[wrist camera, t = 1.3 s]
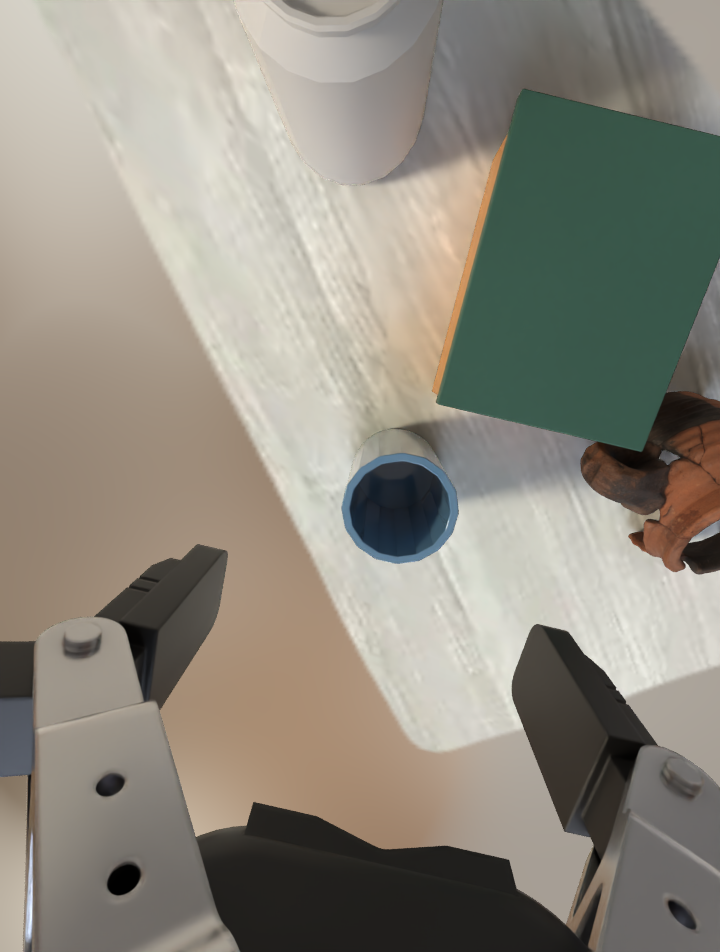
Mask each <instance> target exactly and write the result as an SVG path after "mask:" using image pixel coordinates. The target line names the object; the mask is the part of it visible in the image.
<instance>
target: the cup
mask: <svg viewBox="0 0 720 952" xmlns="http://www.w3.org/2000/svg"><path fill="white" fill-rule="evenodd" d="M341 509H342V514H343V519H344V525H345V528H346V531H347V532H348V534H349V535H350V537H351V538H352V540H353V541H354V542H355V544H356V545H357V546H358V547H359V548H360V549H361V550H363V551H364V552H366V553H367V554H369V555H370V556H372V557H373V558H376V559H378V560H382V561H387V562H391V563H395V564H400V563H407V562H415V561H420V560H422V559H423V558H425V557H427V556H429V555H431V554H433V553H434V552H436V551H438V550H439V549H440V548H441V547H442V545H443V544H444V543H445V542H446V541H447V539H448V538H449V537H450V536H451V535H452V533H453V530H454V527H455V524H456V520H457V517H458V514H459V513H458V512H459V510H458V501H457V493H456V490H455V488H454V486H453V484H452V482H451V481H450V479H449V477H448V475H447V474H446V472H445V470H444V468H443V467H442V465H441V463H440V461H439V460H438V458H437V456H436V454H435V453H434V451H433V449H432V448H431V446H430V445H429V443H428V442H426V441H425V440H424V439H423V438H422V437H420V436H419V435H417V434H415V433H413V432H411V431H408V430H403V429H388V430H383V431H380V432H378V433H376V434H374V435H372V436H371V437H369V438H368V439H367V440H366V441H365V442H364V443H363V444H362V445H361V446H360V448H359V450H358V451H357V453H356V454H355V457H354V460H353V464H352V467H351V471H350V474H349V478H348V482H347V485H346V489H345V493H344V498H343V502H342V508H341Z"/></svg>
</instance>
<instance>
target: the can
mask: <svg viewBox="0 0 720 952" xmlns="http://www.w3.org/2000/svg"><path fill="white" fill-rule="evenodd" d="M233 1H234V4H235V7H236V10H237V13H238V16H239V18H240V21H241V23H242V26H243V28H244V30H245V33H246V35H247V38H248V40H249V42H250V45H251V47H252V50H253V52H254V54H255V57H256V59H257V62H258V64H259V67H260V69H261V71H262V74H263V76H264V79H265V81H266V83H267V86H268V88H269V91H270V93H271V95H272V98H273V100H274V103H275V105H276V107H277V110H278V112H279V115H280V117H281V119H282V122H283V124H284V127H285V129H286V132H287V134H288V136H289V139H290V141H291V144H292V145H293V147H294V148H295V150H296V151H297V153H298V154H299V156H300V157H301V159H302V160H303V162H304V163H305V164H306V165H307V166H308V167H309V168H311V169H312V170H313V171H314V172H316V173H317V174H318V175H319V176H321V177H322V178H324V179H327V180H330V181H333V182H335V183H338V184H341V185H365V184H367V183H370V182H373V181H375V180H378V179H381V178H383V177H385V176H386V175H387V174H389V173H390V172H391V171H392V170H393V169H395V168H396V167H397V166H398V165H400V164H401V163H402V162H403V160H404V159H405V157H406V156H407V154H408V153H409V151H410V150H411V148H412V147H413V145H414V143H415V142H416V139H417V135H418V132H419V129H420V126H421V123H422V120H423V115H424V110H425V104H426V98H427V92H428V86H429V81H430V75H431V69H432V63H433V57H434V52H435V46H436V40H437V34H438V28H439V23H440V17H441V11H442V5H443V0H233Z"/></svg>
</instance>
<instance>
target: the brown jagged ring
mask: <svg viewBox="0 0 720 952" xmlns="http://www.w3.org/2000/svg"><path fill="white" fill-rule="evenodd" d="M662 450H666V451H669V452H671V453H673V454H675V455H678V456H679V457H680V459H678V460H675V461H673V462H671V463H670V464H669V465H667V464H666V463H665V462H664V461H661V460H659V456H660V454H661V451H662ZM581 472H582V475H583V477H584V479H585V480H586V482H587V483H588V484H589V485H590V486H591V488H593V489H594V490H595V491H596V492H598V493H599V494H600V495H602V496H604V497H606V498H608V499H610V500H613V501H615V502H618V503H621V505H622V506H623V507H625V508H627V509H630V510H632V511H634V512H636V513H638V514H641V515H648V514H651V513H653V512H655V511H656V510H657V509H659V511H660V518H659V521H657V520H653V519H647V520H646V521H645V523H644V532H642V531H641V532H635V533H632V534H629V536H628V537H629V538H630V539H631V541H632V543H633V544H634V545H636V546H638V547H639V548H640V549H641V550H642V551H645V552H647V553H649V554H650V555H652V556H654V557H660V558H662V561H663V563H664V565H665V566H666V567H667V568H668V569H669V570H671V571H673V572H678V571H680V570H683V569H685V567H686V565H685V563H684V562H683V561H685V562H686V563H687V564H688V565H689V567H690V568H691V570H692V571H693V572H694V573H696V574H704V573H710V572H715V571H718V570H720V532H719V533H717V534H716V535H714V536H712V537H710V538H707V539H705V540H702V541H699V542H692V543H689V541H690V540H691V538H692V537H693V536H695V535H697V534H698V533H700V532H701V531H702V530H703V529H705V528H706V527H708V526H710V525H711V524H713V523H714V522H716V521H718V520H719V519H720V401H717V400H714V399H708V398H705V397H703V396H701V395H699V394H696V393H693V392H688V391H678V392H675V391H674V392H668V393H665V396H664V398H663V401H662V403H661V406H660V408H659V411H658V413H657V416H656V418H655V421H654V423H653V426H652V428H651V431H650V434H649V436H648V439H647V441H646V444H645V446H644V449H643V451H641V452H640V451H636V450H632V449H627V448H623V447H619V446H614V445H610V444H606V443H602V442H596V443H595V444H593V445H591V446H589V447H588V448H587V449H586V450H585V453H584V455H583V457H582V458H581Z"/></svg>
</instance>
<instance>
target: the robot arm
mask: <svg viewBox="0 0 720 952" xmlns="http://www.w3.org/2000/svg"><path fill="white" fill-rule="evenodd" d="M227 558H228V553H227V551H225V550H221V549H217V548H212V547H208V546H204V545H200V544H197V545H196V546H195V547H194V548H193V549H192V550H191V551H190V552H189V553H188V554H187V555H186V556H185V557H184V558H183V559H182V560H177V559H173V558H170V559H167V560H165V561H162V562H159V563H157V564H155V565H152V566H151V567H150V568H149V569H147V570H146V571H145V572H144V573H143V574H142V575H141V576H140V578H139V579H138V578H137V579H136V580H135V581H134V582H133V583H132V584H131V585H130V586H129V588H126V589H125V590H124V591H123V592H121V593H120V594H119V595H118V596H117V597H116V598H115V599H113V600H112V601H111V602H110V603H109V604H108V605H107V606H106V607H105V608H103V609H102V610H101V611H100V612H99V613H98V614H96V615H95V616H94V617H80V618H74V619H70V620H66V621H63V622H60V623H57V624H55V625H53V626H51V627H50V628H48V629H47V630H45V631H44V632H43V633H42V634H40V636H39V637H38V638H37V640H36V641H29V642H0V777H8V776H18V775H19V776H20V775H27V810H26V811H27V812H26V863H25V865H26V866H25V900H24V928H23V930H24V931H23V952H720V787H719V786H718V785H717V784H716V783H715V782H714V781H713V779H712V778H711V777H710V776H709V775H707V774H706V773H705V772H704V771H703V770H702V769H701V768H699V767H698V766H697V765H695V764H694V763H693V762H691V761H690V760H688V759H686V758H685V757H683V756H681V755H679V754H678V753H676V752H674V751H671V750H669V749H667V748H664V747H660V746H658V745H657V744H656V742H655V741H654V739H653V738H652V736H651V735H650V734H649V732H648V731H647V730H646V728H645V727H644V725H643V724H642V723H641V721H640V720H639V719H638V717H637V716H636V714H635V713H634V712H633V710H632V709H631V707H630V706H629V705H627V704H626V701H625V699H624V698H623V696H622V695H621V694H620V692H619V691H617V690H616V687H615V685H614V684H613V683H612V681H611V680H610V679H609V677H608V676H607V674H606V673H605V672H604V671H603V670H602V669H601V668H600V667H599V666H598V665H596V664H595V663H594V662H593V661H592V660H591V659H590V658H588V657H587V656H586V655H584V653H583V652H582V651H581V649H580V648H579V646H578V645H577V643H576V642H575V641H574V639H573V638H572V636H571V635H570V634H569V632H567V631H565V630H561V629H556V628H552V627H548V626H543V625H539V624H536V625H534V626H533V627H532V629H531V630H530V633H529V635H528V638H527V641H526V643H525V646H524V649H523V651H522V654H521V657H520V659H519V662H518V665H517V667H516V670H515V673H514V676H513V680H512V697H513V701H514V704H515V707H516V709H517V712H518V714H519V717H520V719H521V722H522V724H523V727H524V730H525V732H526V735H527V737H528V740H529V742H530V745H531V747H532V750H533V752H534V755H535V758H536V760H537V763H538V765H539V768H540V770H541V773H542V775H543V778H544V781H545V783H546V786H547V788H548V791H549V793H550V796H551V798H552V801H553V804H554V806H555V809H556V811H557V814H558V816H559V819H560V821H561V824H562V826H563V829H564V831H565V832H569V833H573V834H578V835H582V836H586V837H591V839H592V842H593V844H594V845H593V848H592V849H591V852H590V853H589V855H588V858H587V860H586V863H585V866H584V869H583V872H582V876H581V879H580V882H579V885H578V888H577V891H576V894H575V898H574V901H573V904H572V907H571V910H570V913H569V916H568V920H567V923H566V925H565V924H564V923H563V922H562V921H561V920H560V919H559V918H558V917H557V916H556V915H554V914H553V913H552V912H551V911H549V910H548V909H547V908H545V907H544V906H543V905H542V904H540V903H539V902H537V901H536V900H534V899H533V898H531V897H530V896H528V895H527V894H525V893H523V892H521V891H520V890H518V889H516V885H515V881H514V877H513V873H512V869H511V866H510V862H509V860H507V859H503V858H499V857H494V856H490V855H485V854H481V853H477V852H472V851H467V850H463V849H459V848H454V847H450V846H435V847H419V848H404V849H390V850H389V849H381V848H378V847H375V846H373V845H371V844H369V843H367V842H365V841H363V840H362V839H360V838H357V837H356V836H354V835H352V834H350V833H348V832H346V831H344V830H342V829H340V828H338V827H336V826H334V825H333V824H330V823H329V822H327V821H324V820H323V819H321V818H319V817H317V816H313V815H309V814H304V813H300V812H296V811H291V810H287V809H282V808H277V807H273V806H269V805H265V804H260V803H256V802H253V806H252V809H251V813H250V816H249V820H248V823H247V826H238V827H230V828H224V829H219V830H215V831H212V832H209V833H206V834H203V835H200V836H198V837H196V836H195V833H194V829H193V826H192V822H191V819H190V815H189V812H188V808H187V805H186V801H185V798H184V795H183V791H182V787H181V784H180V780H179V777H178V774H177V770H176V767H175V763H174V760H173V756H172V753H171V749H170V746H169V742H168V739H167V735H166V732H165V728H164V725H163V721H162V718H161V714H160V709H161V708H162V706H163V704H164V703H165V701H166V700H167V698H168V697H169V695H170V693H171V692H172V690H173V688H174V687H175V686H176V684H177V682H178V681H179V679H180V678H181V676H182V675H183V673H184V672H185V670H186V668H187V667H188V665H189V664H190V662H191V660H192V659H193V657H194V656H195V654H196V652H197V651H198V650H199V648H200V646H201V645H202V643H203V642H204V640H205V639H206V637H207V635H208V634H209V632H210V630H211V629H212V627H213V625H214V622H215V619H216V617H217V614H218V610H219V606H220V600H221V594H222V589H223V583H224V577H225V571H226V565H227Z"/></svg>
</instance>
